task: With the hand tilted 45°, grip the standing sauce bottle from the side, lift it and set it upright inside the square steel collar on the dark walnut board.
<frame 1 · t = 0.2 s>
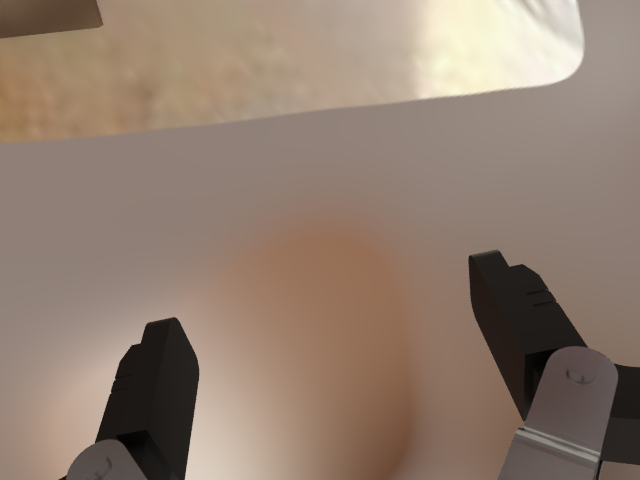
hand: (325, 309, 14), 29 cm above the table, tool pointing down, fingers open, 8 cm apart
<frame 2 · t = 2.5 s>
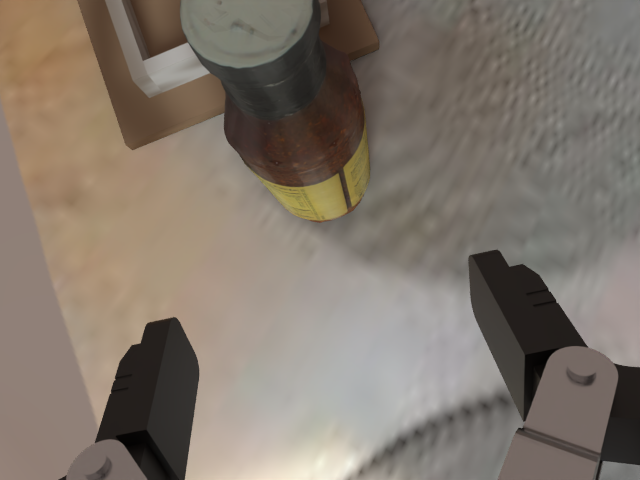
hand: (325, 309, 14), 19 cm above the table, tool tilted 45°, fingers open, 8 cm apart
sauce bottle: (320, 182, 35), on the table
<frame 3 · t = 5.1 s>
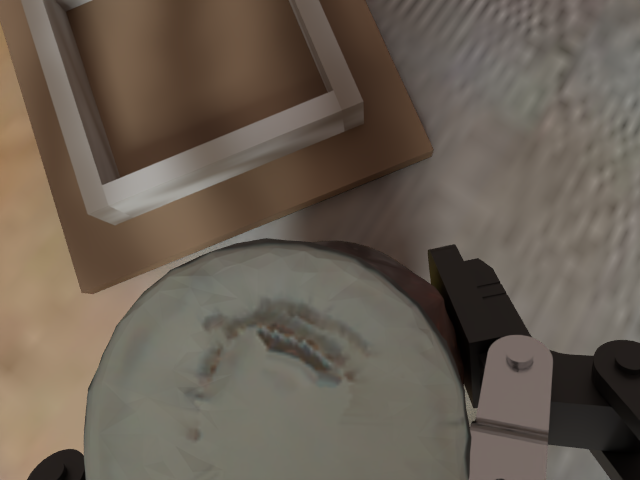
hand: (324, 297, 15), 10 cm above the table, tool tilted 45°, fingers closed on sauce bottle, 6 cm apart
carrier board: (201, 69, 28), on the table
sauce bottle: (351, 346, 25), on the table, touching gripper
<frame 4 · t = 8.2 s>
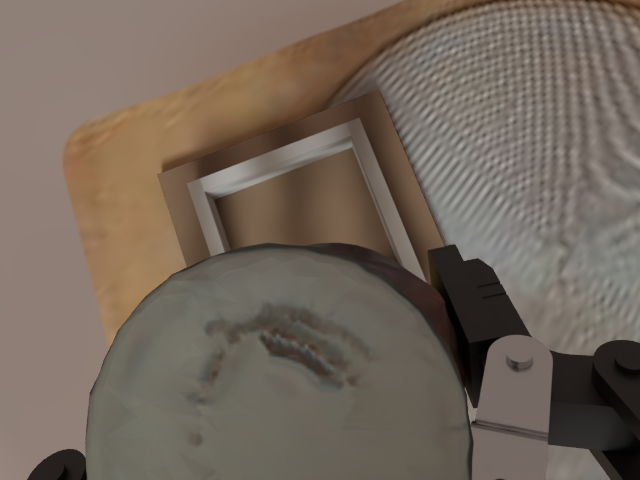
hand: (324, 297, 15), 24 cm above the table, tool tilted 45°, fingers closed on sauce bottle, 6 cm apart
carrier board: (309, 243, 40), on the table
sauce bottle: (352, 347, 25), point 13 cm above the table, touching gripper
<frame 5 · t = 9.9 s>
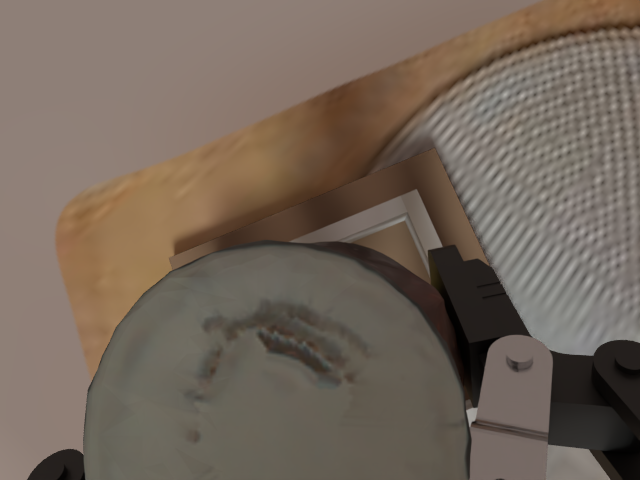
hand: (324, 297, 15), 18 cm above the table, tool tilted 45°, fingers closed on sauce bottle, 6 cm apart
carrier board: (356, 339, 32), on the table
sauce bottle: (352, 346, 25), point 8 cm above the table, touching gripper
when the fingers open (13 cm above the table, at t = 11.4 s): sauce bottle drops 1 cm, resting on carrier board.
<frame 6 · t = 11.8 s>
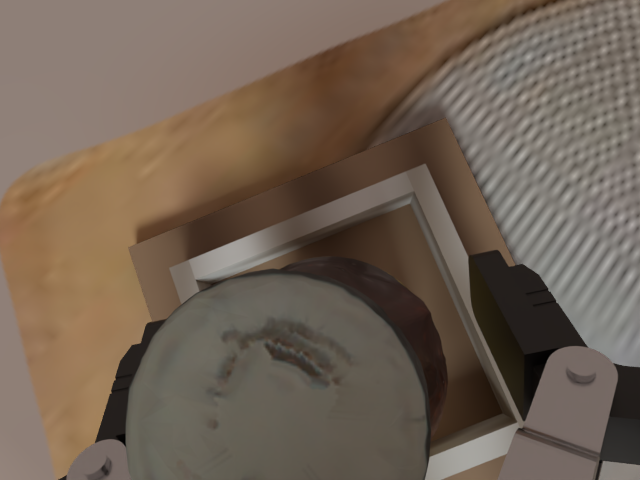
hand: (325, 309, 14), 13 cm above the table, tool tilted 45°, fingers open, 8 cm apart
carrier board: (351, 345, 27), on the table
sauce bottle: (352, 350, 26), point 1 cm above the table, touching carrier board
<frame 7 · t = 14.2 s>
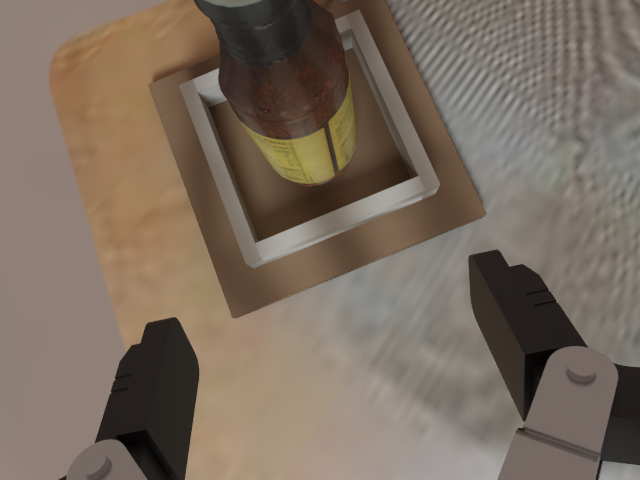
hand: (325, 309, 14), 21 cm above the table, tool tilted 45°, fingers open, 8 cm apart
carrier board: (310, 150, 37), on the table
sauce bottle: (310, 149, 37), point 1 cm above the table, touching carrier board
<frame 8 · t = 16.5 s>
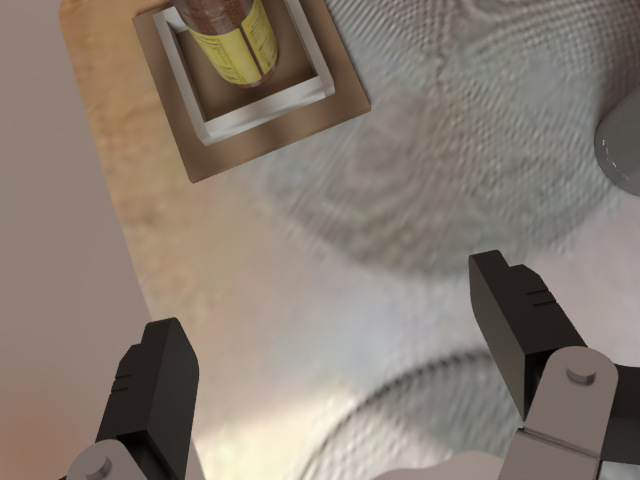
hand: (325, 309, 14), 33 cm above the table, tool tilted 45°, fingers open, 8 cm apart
carrier board: (248, 65, 52), on the table
sauce bottle: (247, 63, 51), point 1 cm above the table, touching carrier board
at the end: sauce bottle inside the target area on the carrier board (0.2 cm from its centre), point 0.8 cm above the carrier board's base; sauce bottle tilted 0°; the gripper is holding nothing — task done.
